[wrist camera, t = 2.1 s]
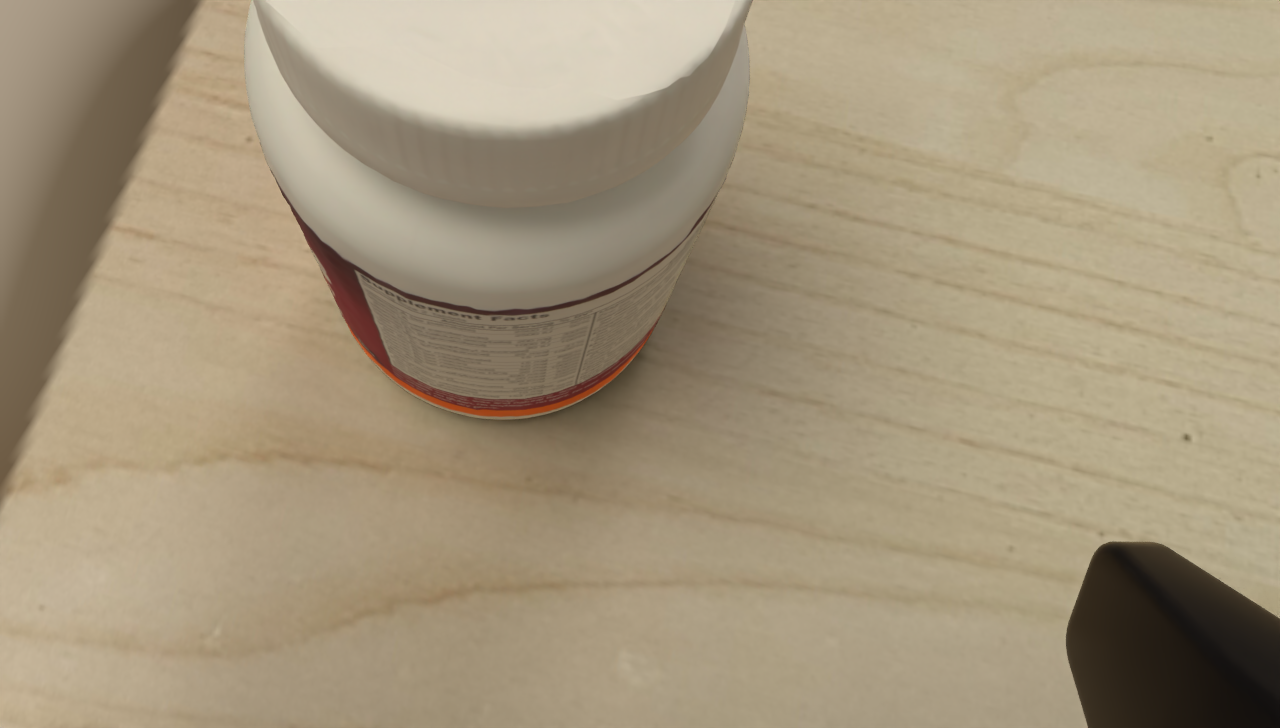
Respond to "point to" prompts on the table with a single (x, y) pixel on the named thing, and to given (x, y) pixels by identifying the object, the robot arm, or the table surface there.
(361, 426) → the table surface
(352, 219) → the pill bottle
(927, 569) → the table surface
